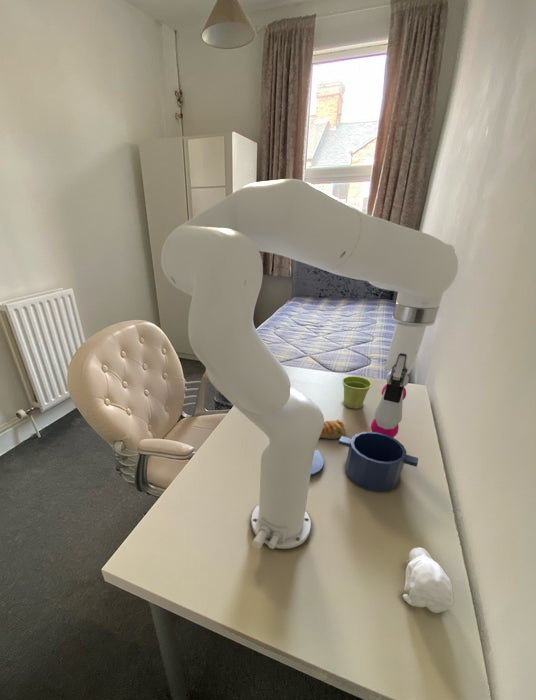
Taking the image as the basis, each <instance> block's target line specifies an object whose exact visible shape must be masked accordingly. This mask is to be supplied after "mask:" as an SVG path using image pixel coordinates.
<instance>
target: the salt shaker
mask: <svg viewBox="0 0 536 700" xmlns="http://www.w3.org/2000/svg"><path fill="white" fill-rule="evenodd" d="M390 375H391V371H390V372H388V373H387V375H386V379H385V380H386V384H387V383H388V382H389V379H390ZM393 376H394V375H393ZM402 376H403V375H401V377H402ZM409 381H410V377H409V374H407V375H405V379H404V383H403V386H404V387H406V386H407V385H408V384H409ZM385 390H386V389H385ZM384 394H385V391H384V393H383V395H382V394H381V397H380V400H379V402H378V404H377V406H376V408H375V411H374V419H376V422H377V425H378V426H379V427H382V428H384V429H394V428H395V427H396V426H397V425H398V426H399V424H400V423H401V421H402V420H403V403H404V402H403V401H404V400H403V391H402V395H401V399H400V402H399V403H395V402H391V401H387V400H384Z"/></svg>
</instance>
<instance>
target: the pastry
mask: <svg viewBox="0 0 536 700" xmlns="http://www.w3.org/2000/svg"><path fill="white" fill-rule="evenodd" d="M346 435H347V431H346V427H345V424H344V422H343V421H342V420H339V419H335V420H324V426H323V430H322V433H321V435H320V438H319V439H328V440H330V439H333V440H334V439H335V440H336V439H340V438H341V436H343V437H346Z"/></svg>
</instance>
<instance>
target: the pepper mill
mask: <svg viewBox="0 0 536 700" xmlns="http://www.w3.org/2000/svg"><path fill="white" fill-rule="evenodd" d="M386 386H387V383H386V384H385V385H384V386H383V387H382V389H381V396H382V395H383V393H384V391H385V389H386ZM405 387H406V386H404V388H403V401H404V400H405V399H406V397H407V390H406V388H405ZM370 429H371V432H378V433H382V434H385V435H388V436H390V437H392V438H394V439H395V437H396V436H397V435H398V434H399V429H400V427H399V424H398V425H397V426H396V427H395V428H394V429H384V428H382V427H379V426H378V425H377V422H376V419H375V418H374V419H373V420H372V422H371V424H370Z"/></svg>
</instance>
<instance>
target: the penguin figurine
mask: <svg viewBox="0 0 536 700" xmlns="http://www.w3.org/2000/svg"><path fill="white" fill-rule="evenodd" d="M405 562H406V568H405V582H404V583H405V584H404V589H403V590H404V591H405V592H407V591H409V590H410V591H409V594H408V593H403V594H402V598H403V600H404V601H405V602H406V603H407V604H409V605H410V606H411V607H417V608H425V607H426V608H427V610H429V611H430V612H432V613H434V614H440V613H442V612H446V611H448V610H449V609H450V608H452V607H453V606H454V603H455V598H454V589H453V585H452V582H451V579H450V578H449V576H448V575H447V573H446V572H445V571H444V569H443V568H442V566H441V565H440V563H438V562H437V561H435V560H434V559H433V558H432V556H431V554H430V553H429V552H428V551H427V550H426V549H425V548H423V547H419V546H418V547H414V548H412V549H411V550H410V551H409V554H408V558H407V559H405Z"/></svg>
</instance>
